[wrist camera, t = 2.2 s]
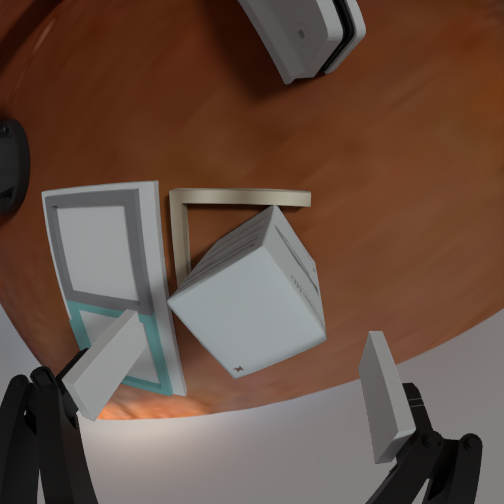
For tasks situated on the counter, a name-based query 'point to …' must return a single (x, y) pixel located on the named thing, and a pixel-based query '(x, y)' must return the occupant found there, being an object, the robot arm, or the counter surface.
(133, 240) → the pocket plate
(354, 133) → the counter surface
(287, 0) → the gray curved slotted casing
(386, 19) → the counter surface
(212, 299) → the supplement box
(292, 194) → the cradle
